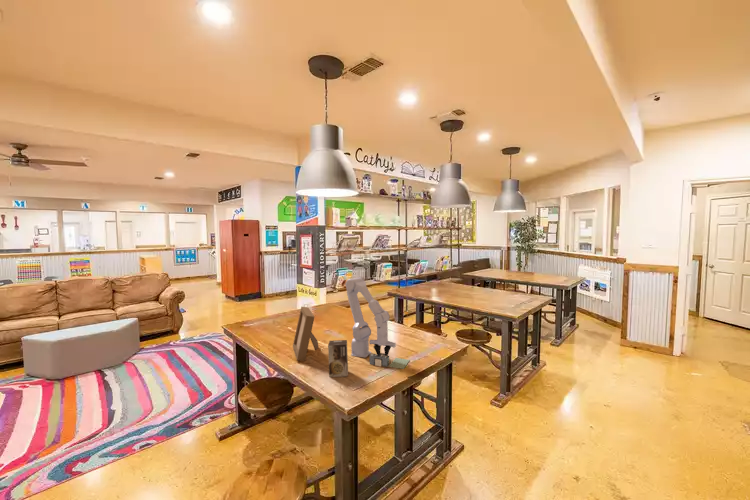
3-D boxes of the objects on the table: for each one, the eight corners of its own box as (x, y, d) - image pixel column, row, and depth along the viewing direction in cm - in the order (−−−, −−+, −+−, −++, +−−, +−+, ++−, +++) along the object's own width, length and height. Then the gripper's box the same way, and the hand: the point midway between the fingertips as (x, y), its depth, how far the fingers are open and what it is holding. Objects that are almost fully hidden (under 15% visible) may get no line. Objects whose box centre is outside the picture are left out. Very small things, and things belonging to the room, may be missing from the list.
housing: (369, 364, 167) (369, 354, 166) (371, 361, 170) (371, 352, 169) (387, 367, 163) (387, 357, 163) (389, 364, 166) (389, 355, 165)
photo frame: (297, 362, 171) (296, 316, 169) (292, 347, 191) (291, 307, 189) (324, 358, 176) (323, 314, 174) (317, 344, 196) (316, 305, 195)
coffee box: (348, 370, 160) (347, 339, 159) (347, 376, 153) (346, 344, 152) (330, 371, 159) (329, 340, 158) (328, 377, 153) (327, 344, 152)
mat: (388, 366, 164) (388, 365, 164) (395, 358, 174) (395, 357, 174) (403, 368, 161) (403, 368, 161) (409, 360, 171) (409, 359, 171)
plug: (374, 365, 165) (374, 359, 165) (380, 359, 173) (380, 353, 173) (381, 366, 164) (381, 360, 163) (386, 360, 172) (386, 353, 171)
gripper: (367, 334, 169) (367, 359, 170) (392, 337, 163) (392, 363, 164) (372, 330, 175) (372, 354, 176) (396, 333, 170) (397, 358, 171)
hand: (382, 358), depth 171 cm, fingers closed on plug, 3 cm apart
